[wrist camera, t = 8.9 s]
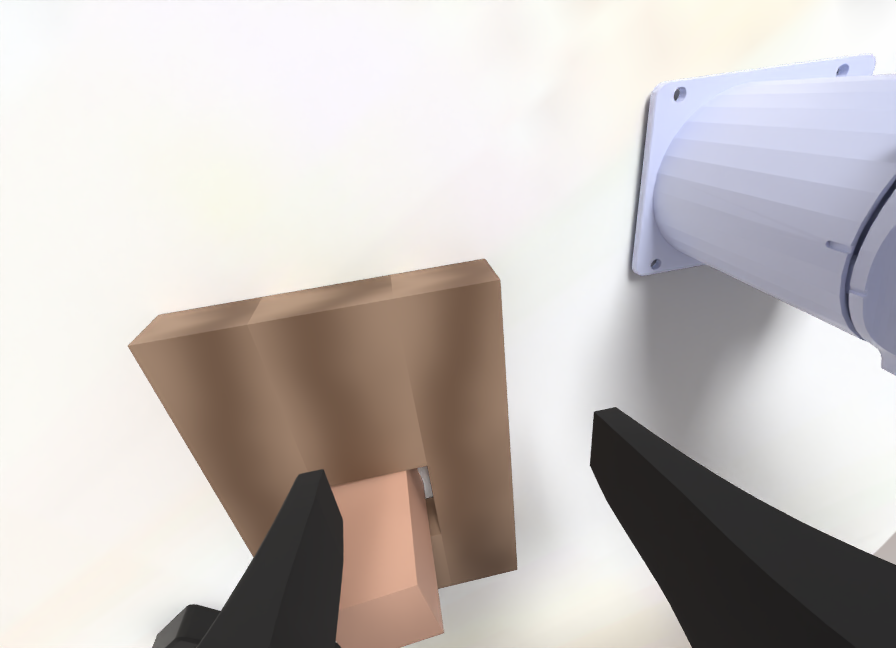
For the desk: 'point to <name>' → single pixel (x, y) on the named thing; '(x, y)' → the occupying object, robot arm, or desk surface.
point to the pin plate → (351, 400)
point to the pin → (386, 563)
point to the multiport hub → (189, 628)
